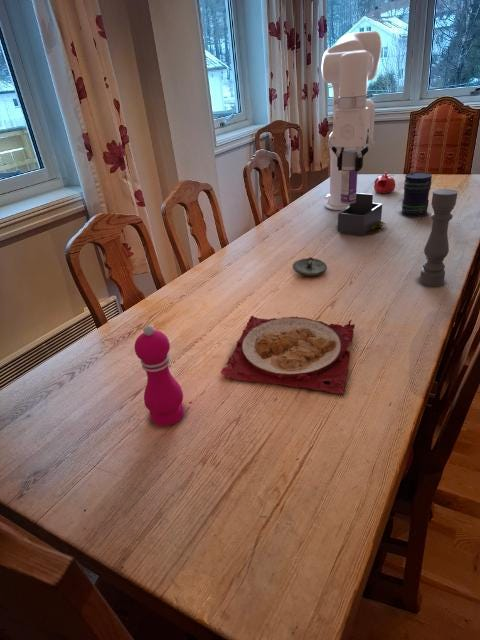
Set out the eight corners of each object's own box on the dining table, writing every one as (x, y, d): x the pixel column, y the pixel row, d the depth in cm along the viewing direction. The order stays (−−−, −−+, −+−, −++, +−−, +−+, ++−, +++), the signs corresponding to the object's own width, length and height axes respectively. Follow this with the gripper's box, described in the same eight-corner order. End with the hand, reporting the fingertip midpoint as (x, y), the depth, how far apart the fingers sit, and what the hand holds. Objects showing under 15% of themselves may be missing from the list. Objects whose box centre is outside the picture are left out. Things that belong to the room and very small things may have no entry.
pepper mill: (150, 404, 85) (129, 318, 75) (186, 400, 85) (170, 313, 75) (146, 430, 79) (123, 340, 69) (186, 425, 79) (167, 334, 69)
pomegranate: (386, 188, 210) (388, 168, 205) (399, 192, 201) (401, 171, 197) (368, 191, 207) (370, 171, 203) (381, 195, 199) (382, 175, 194)
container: (354, 199, 137) (357, 149, 129) (356, 203, 133) (359, 152, 125) (339, 200, 137) (341, 150, 129) (341, 204, 133) (343, 153, 125)
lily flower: (383, 220, 168) (384, 208, 166) (389, 230, 158) (391, 218, 156) (352, 221, 170) (353, 210, 168) (356, 232, 160) (357, 220, 157)
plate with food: (251, 322, 110) (250, 310, 108) (354, 329, 102) (355, 316, 100) (219, 380, 91) (217, 367, 89) (343, 394, 83) (343, 380, 81)
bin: (356, 218, 172) (358, 187, 166) (380, 221, 166) (383, 189, 160) (337, 231, 161) (338, 198, 155) (362, 235, 155) (365, 200, 149)
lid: (305, 266, 140) (301, 252, 138) (332, 264, 134) (329, 249, 132) (289, 280, 133) (285, 266, 131) (317, 279, 127) (313, 263, 125)
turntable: (329, 228, 166) (329, 227, 166) (357, 218, 173) (357, 217, 173) (362, 238, 154) (362, 237, 154) (390, 226, 162) (390, 225, 162)
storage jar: (432, 212, 172) (437, 174, 164) (416, 218, 167) (421, 179, 160) (411, 208, 179) (415, 171, 172) (395, 213, 175) (399, 176, 167)
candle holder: (442, 277, 122) (457, 188, 109) (444, 287, 117) (459, 195, 104) (419, 276, 124) (431, 188, 111) (419, 285, 119) (432, 195, 106)
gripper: (318, 106, 122) (318, 171, 132) (377, 104, 114) (373, 174, 123) (329, 102, 128) (328, 166, 137) (386, 100, 119) (381, 168, 128)
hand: (349, 169), depth 130 cm, fingers closed on container, 4 cm apart
